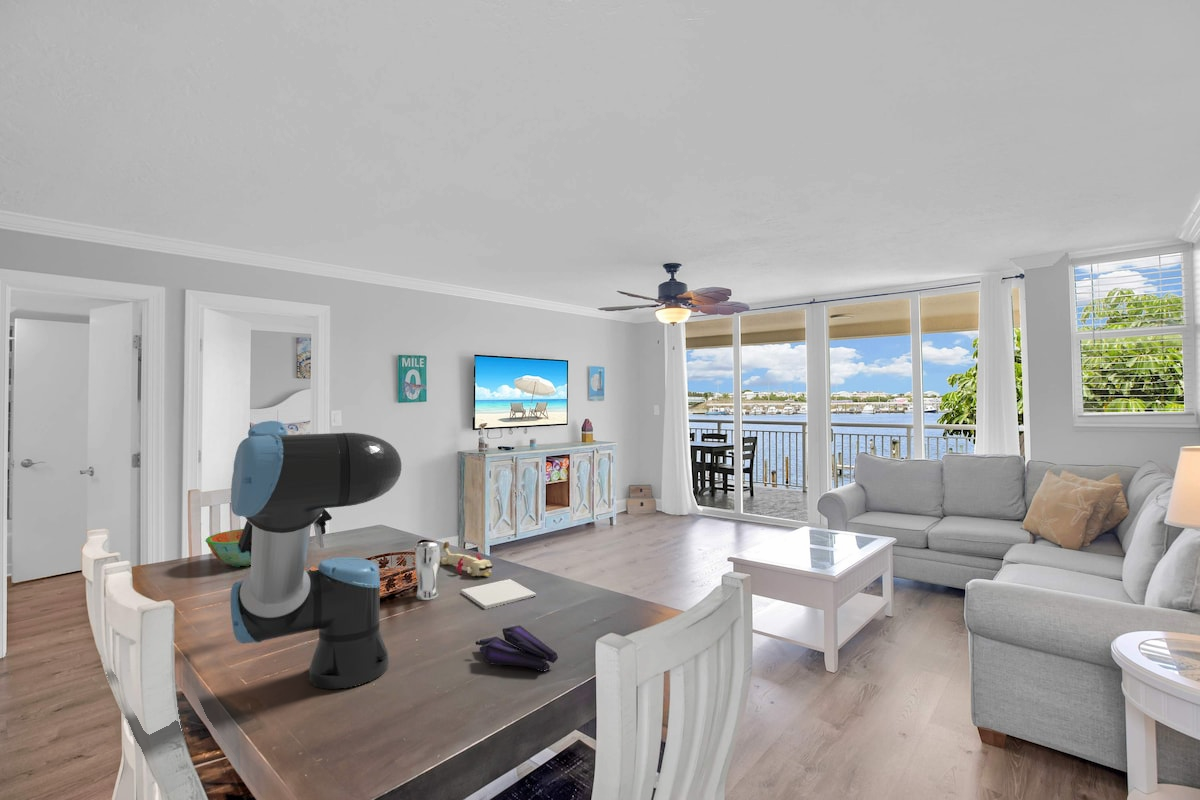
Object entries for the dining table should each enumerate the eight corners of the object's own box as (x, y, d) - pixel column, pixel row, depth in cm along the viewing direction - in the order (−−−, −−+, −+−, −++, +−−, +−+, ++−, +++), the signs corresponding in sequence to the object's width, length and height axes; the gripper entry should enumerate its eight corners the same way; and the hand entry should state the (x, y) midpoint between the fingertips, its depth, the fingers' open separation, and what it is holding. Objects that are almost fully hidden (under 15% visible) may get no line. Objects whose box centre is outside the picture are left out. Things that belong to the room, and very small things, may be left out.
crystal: (566, 635, 123) (497, 608, 134) (532, 661, 114) (461, 630, 124) (566, 665, 124) (497, 637, 135) (532, 693, 115) (461, 660, 125)
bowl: (224, 578, 179) (224, 546, 179) (193, 566, 191) (193, 537, 191) (295, 561, 198) (295, 532, 198) (262, 551, 210) (262, 524, 210)
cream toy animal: (432, 570, 193) (476, 579, 176) (430, 544, 193) (475, 551, 177) (456, 563, 200) (501, 572, 184) (455, 538, 201) (500, 545, 184)
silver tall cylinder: (444, 596, 164) (444, 544, 164) (422, 602, 159) (422, 549, 159) (432, 590, 169) (432, 540, 168) (410, 596, 163) (410, 544, 163)
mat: (536, 596, 163) (536, 593, 163) (485, 609, 154) (485, 605, 154) (510, 582, 176) (510, 579, 176) (461, 592, 167) (461, 589, 167)
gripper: (327, 460, 141) (336, 528, 150) (210, 496, 125) (229, 570, 134) (339, 474, 136) (348, 543, 146) (219, 513, 120) (238, 588, 129)
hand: (291, 556), depth 140 cm, fingers open, 13 cm apart
